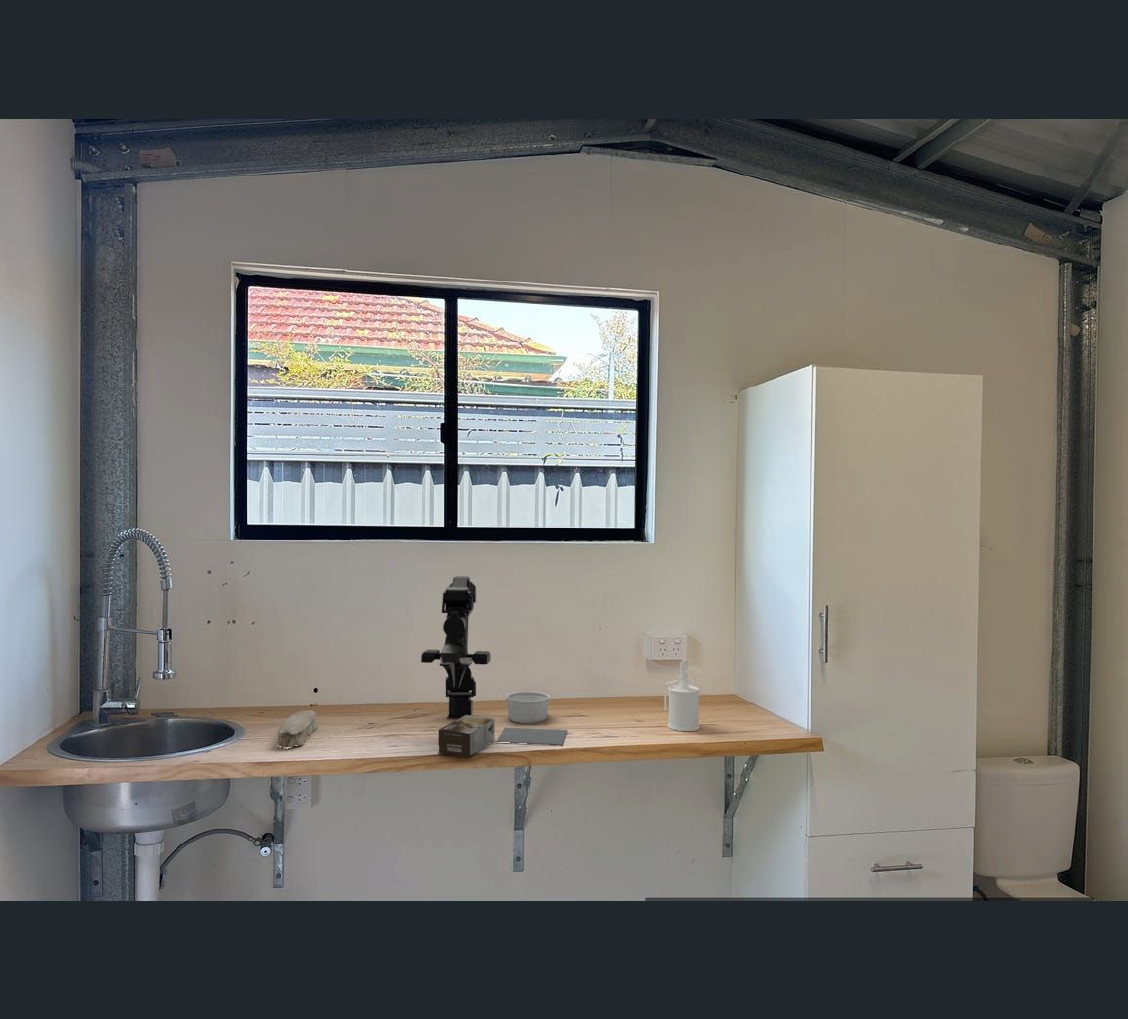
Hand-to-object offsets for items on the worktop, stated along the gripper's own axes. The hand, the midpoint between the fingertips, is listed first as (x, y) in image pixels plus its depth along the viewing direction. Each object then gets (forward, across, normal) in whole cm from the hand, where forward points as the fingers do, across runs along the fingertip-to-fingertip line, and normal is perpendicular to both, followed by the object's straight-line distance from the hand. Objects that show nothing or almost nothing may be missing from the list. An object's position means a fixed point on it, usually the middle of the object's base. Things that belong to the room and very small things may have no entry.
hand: (455, 687), depth 218 cm
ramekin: (+13, +18, +19) cm, 29 cm away
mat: (+13, +22, 0) cm, 26 cm away
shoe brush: (+14, -42, -8) cm, 45 cm away
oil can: (+13, +64, +16) cm, 67 cm away
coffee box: (+10, +8, -4) cm, 13 cm away
